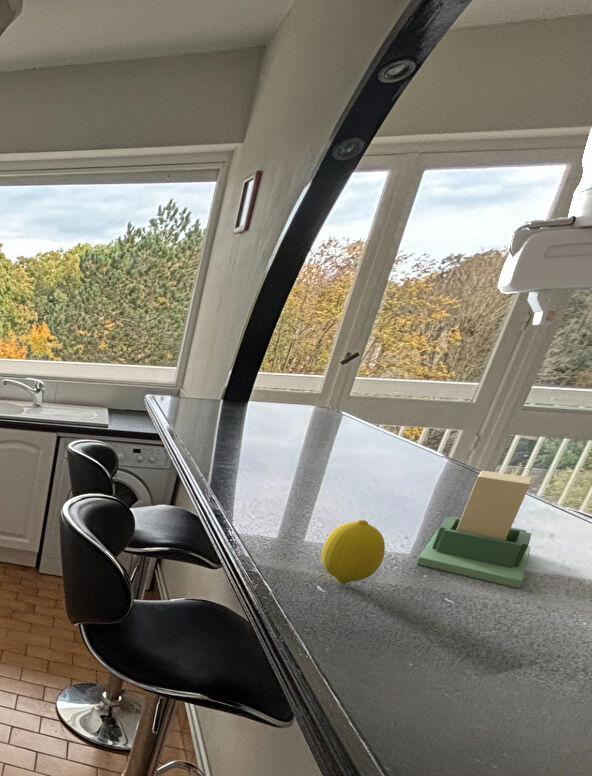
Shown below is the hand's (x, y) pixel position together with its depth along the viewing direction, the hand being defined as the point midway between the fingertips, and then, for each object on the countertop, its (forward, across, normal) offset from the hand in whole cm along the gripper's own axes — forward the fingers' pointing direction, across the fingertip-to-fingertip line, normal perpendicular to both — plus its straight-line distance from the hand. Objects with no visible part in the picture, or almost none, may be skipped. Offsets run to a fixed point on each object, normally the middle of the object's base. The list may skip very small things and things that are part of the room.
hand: (587, 322), depth 82 cm
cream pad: (+29, -15, -20) cm, 38 cm away
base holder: (+30, -15, -20) cm, 39 cm away
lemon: (+31, -34, -35) cm, 58 cm away
